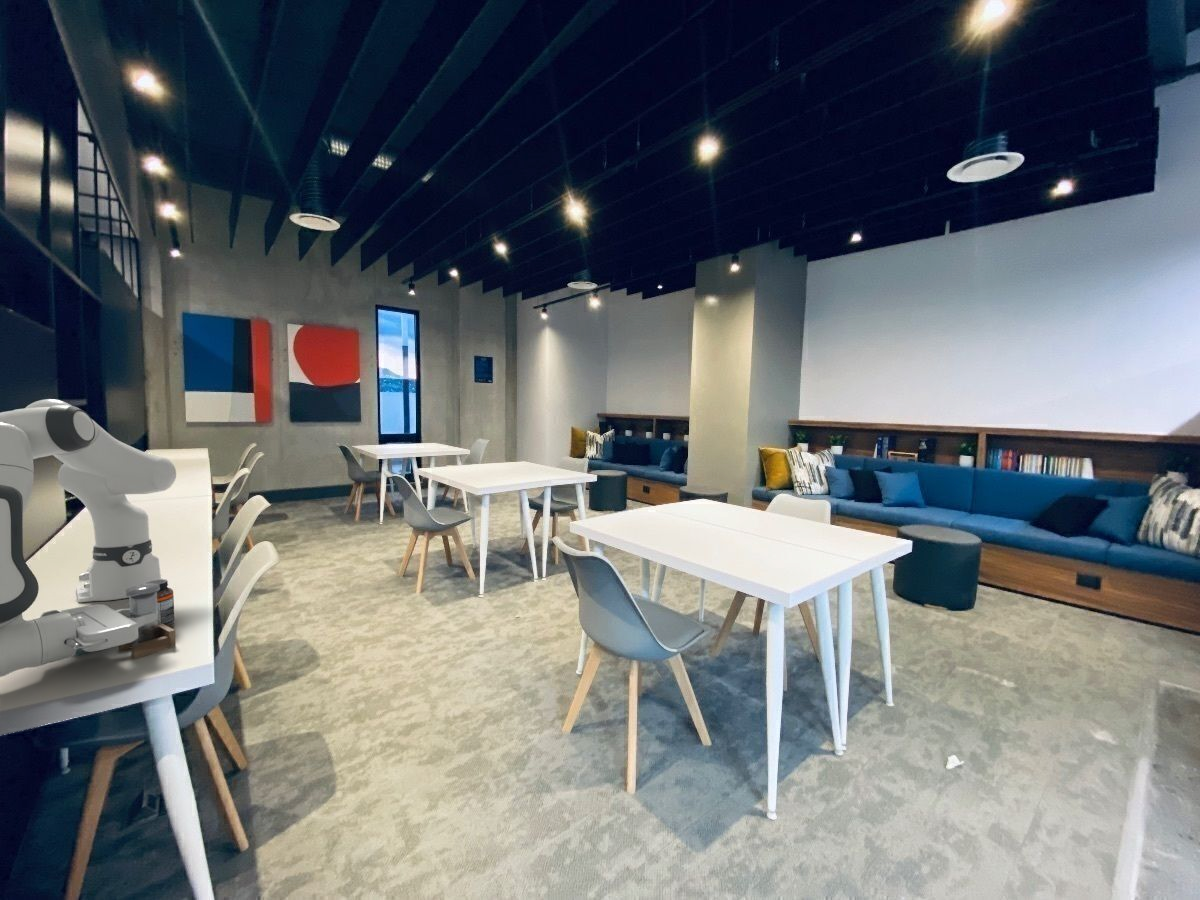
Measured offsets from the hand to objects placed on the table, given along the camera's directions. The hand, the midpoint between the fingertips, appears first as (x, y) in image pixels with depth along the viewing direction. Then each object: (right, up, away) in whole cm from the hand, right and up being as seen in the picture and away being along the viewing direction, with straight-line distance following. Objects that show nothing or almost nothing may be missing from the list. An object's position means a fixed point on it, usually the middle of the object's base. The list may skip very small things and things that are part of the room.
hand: (149, 613), depth 109 cm
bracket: (0, -7, 0) cm, 7 cm away
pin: (-1, -7, 0) cm, 7 cm away
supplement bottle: (-6, -7, +9) cm, 13 cm away
